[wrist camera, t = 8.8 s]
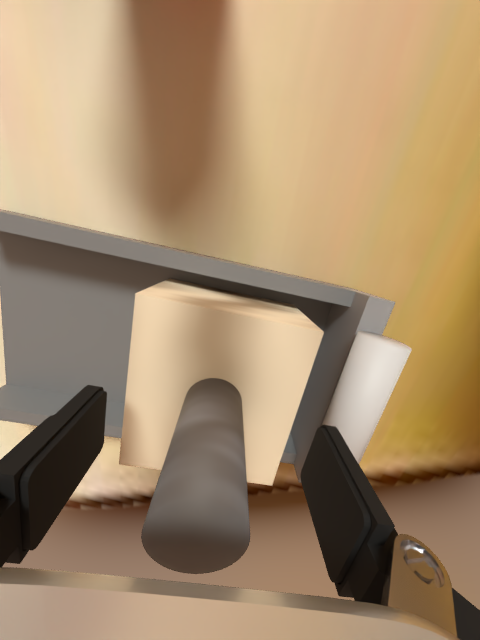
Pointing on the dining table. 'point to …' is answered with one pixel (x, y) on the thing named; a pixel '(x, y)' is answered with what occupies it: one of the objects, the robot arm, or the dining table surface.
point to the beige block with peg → (210, 412)
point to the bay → (117, 318)
